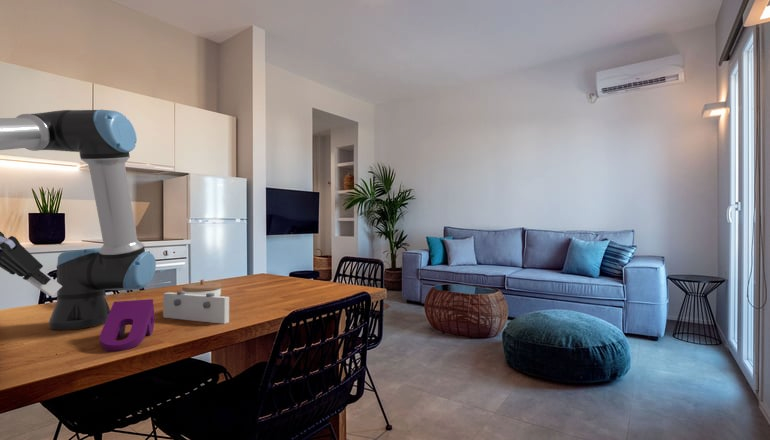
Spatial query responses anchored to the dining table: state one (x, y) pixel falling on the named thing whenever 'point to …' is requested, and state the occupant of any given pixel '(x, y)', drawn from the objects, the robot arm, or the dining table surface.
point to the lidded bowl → (203, 288)
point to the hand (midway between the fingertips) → (55, 290)
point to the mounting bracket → (127, 314)
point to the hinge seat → (196, 307)
